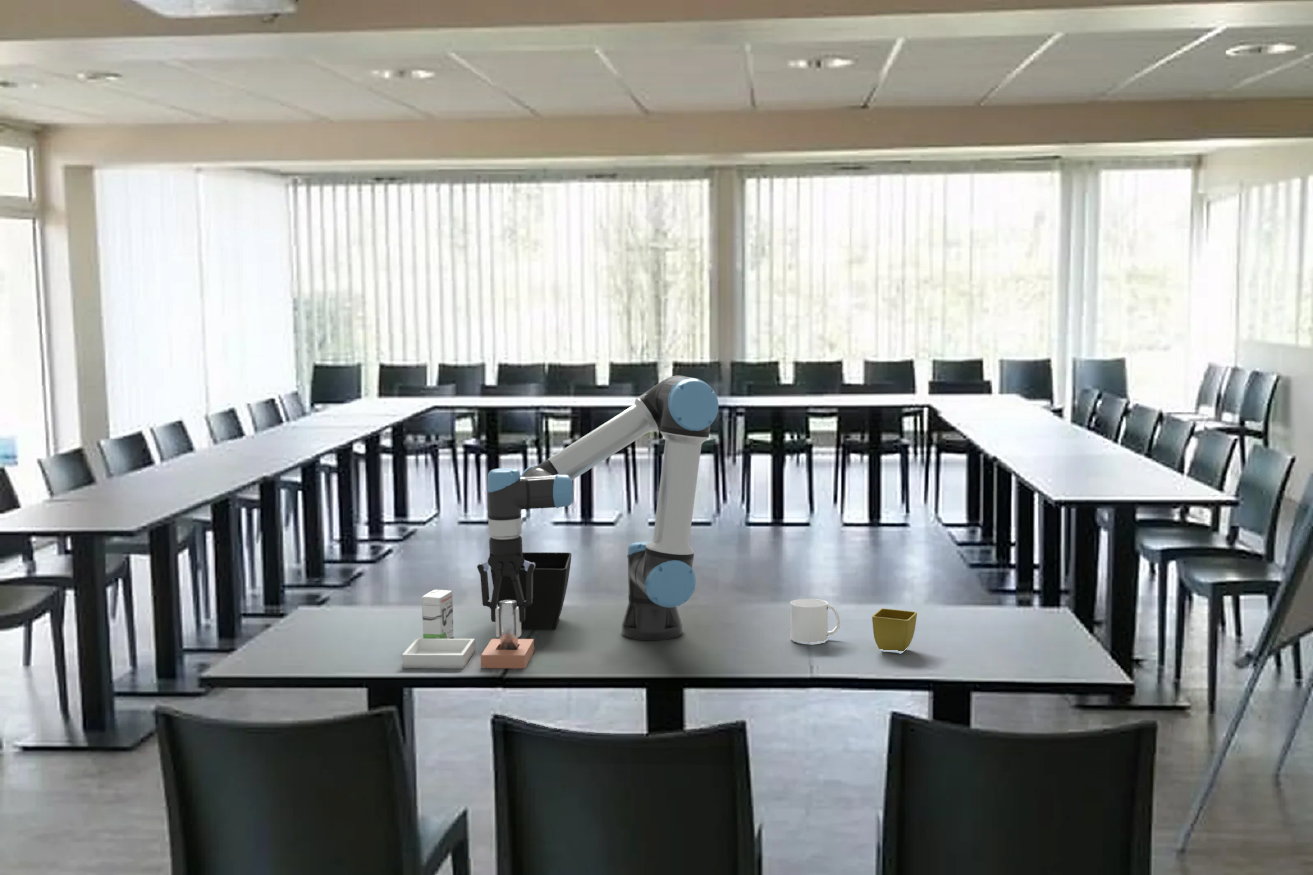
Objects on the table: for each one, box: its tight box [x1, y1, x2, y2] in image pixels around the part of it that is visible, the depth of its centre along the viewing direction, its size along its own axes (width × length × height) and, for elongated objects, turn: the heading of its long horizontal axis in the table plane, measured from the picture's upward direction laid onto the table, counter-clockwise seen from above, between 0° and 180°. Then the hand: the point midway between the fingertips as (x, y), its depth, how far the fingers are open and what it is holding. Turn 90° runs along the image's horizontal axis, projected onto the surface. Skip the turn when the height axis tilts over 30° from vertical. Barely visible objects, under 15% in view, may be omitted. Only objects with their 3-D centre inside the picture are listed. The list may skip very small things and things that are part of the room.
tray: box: [401, 637, 476, 669], centre depth 313 cm, size 14×14×3 cm
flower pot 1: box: [490, 551, 573, 631], centre depth 344 cm, size 19×19×17 cm
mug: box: [789, 598, 841, 642], centre depth 326 cm, size 12×9×9 cm
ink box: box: [421, 589, 454, 639], centre depth 329 cm, size 9×5×12 cm, turn 167°
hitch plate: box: [480, 638, 535, 669], centre depth 312 cm, size 10×14×3 cm
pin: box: [499, 600, 519, 650], centre depth 312 cm, size 4×4×12 cm
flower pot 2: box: [871, 607, 918, 652], centre depth 316 cm, size 9×9×9 cm
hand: (508, 635), depth 312 cm, fingers closed on pin, 4 cm apart
